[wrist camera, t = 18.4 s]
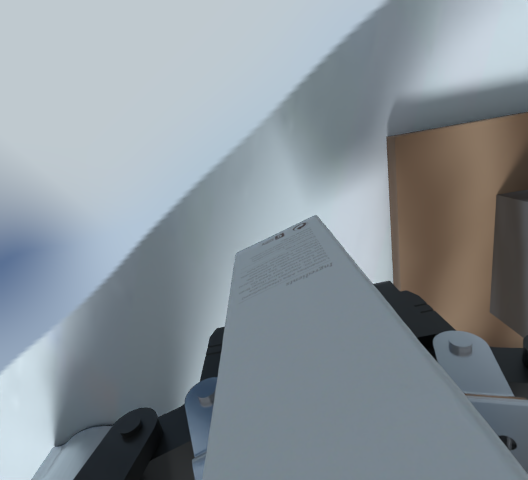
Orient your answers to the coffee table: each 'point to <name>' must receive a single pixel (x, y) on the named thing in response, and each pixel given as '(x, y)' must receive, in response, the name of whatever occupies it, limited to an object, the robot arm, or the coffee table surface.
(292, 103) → the coffee table surface
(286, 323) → the skincare box
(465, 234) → the lid
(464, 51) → the coffee table surface
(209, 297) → the coffee table surface
